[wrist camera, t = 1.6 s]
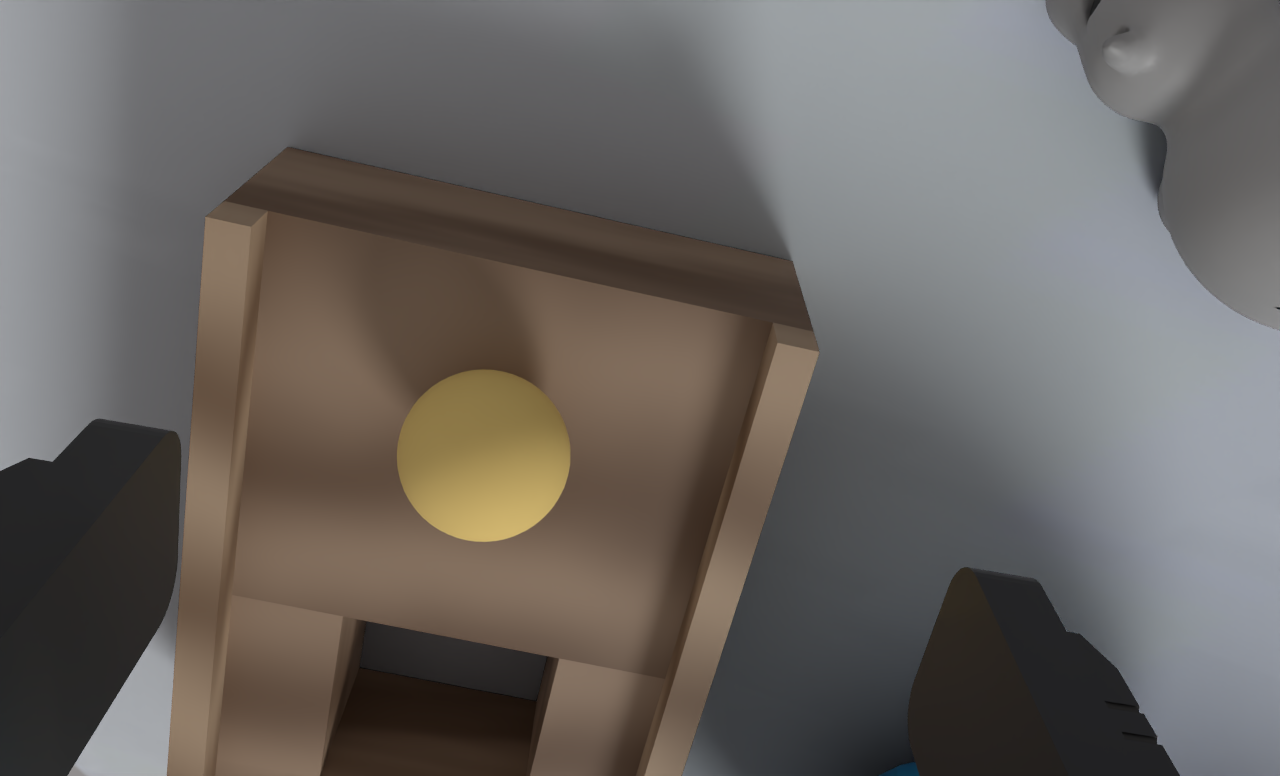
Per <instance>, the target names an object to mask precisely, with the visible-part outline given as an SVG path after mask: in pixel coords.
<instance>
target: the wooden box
mask: <svg viewBox="0 0 1280 776" xmlns="http://www.w3.org/2000/svg"><path fill="white" fill-rule="evenodd" d="M819 353H820V351H819V348H818V345H817V341H816V338H815V335H814V331H813V328H812V325H811V321H810V318H809V315H808V311H807V308H806V305H805V301H804V298H803V295H802V291H801V288H800V285H799V281H798V278H797V275H796V271H795V268H794V265H793V261H789V260H785V259H780V258H776V257H771V256H767V255H762V254H758V253H754V252H749V251H745V250H740V249H736V248H732V247H727V246H723V245H718V244H714V243H709V242H705V241H701V240H696V239H692V238H687V237H683V236H679V235H674V234H670V233H665V232H661V231H656V230H652V229H648V228H643V227H639V226H634V225H630V224H626V223H621V222H617V221H612V220H608V219H603V218H599V217H595V216H590V215H586V214H581V213H577V212H573V211H568V210H564V209H559V208H555V207H550V206H546V205H542V204H537V203H533V202H528V201H524V200H520V199H515V198H511V197H506V196H502V195H497V194H493V193H489V192H484V191H480V190H475V189H471V188H467V187H462V186H458V185H453V184H449V183H444V182H440V181H436V180H431V179H427V178H422V177H418V176H414V175H409V174H405V173H400V172H396V171H391V170H387V169H383V168H378V167H374V166H369V165H365V164H361V163H356V162H352V161H347V160H343V159H338V158H334V157H330V156H325V155H321V154H316V153H312V152H308V151H303V150H299V149H294V148H290V147H287V148H286V149H285V150H283V151H282V152H281V153H280V154H279V155H278V156H276V157H275V158H274V159H273V160H272V161H271V162H269V163H268V164H267V165H266V166H265V167H263V168H262V169H261V170H260V171H259V172H258V173H256V174H255V175H254V176H253V177H252V178H251V179H249V180H248V181H247V182H246V183H245V184H243V185H242V186H241V187H240V188H239V189H238V190H236V191H235V192H234V193H233V194H232V195H231V196H229V197H228V198H227V199H226V200H225V201H223V202H222V203H221V204H220V205H219V206H218V207H216V208H215V209H214V210H213V211H212V212H211V213H209V214H208V215H207V216H206V217H205V231H204V245H203V260H202V274H201V289H200V303H199V318H198V332H197V347H196V361H195V376H194V390H193V405H192V419H191V434H190V448H189V462H188V477H187V491H186V506H185V520H184V535H183V549H182V564H181V578H180V593H179V607H178V622H177V636H176V651H175V665H174V680H173V694H172V709H171V723H170V738H169V752H168V767H167V776H682V773H683V770H684V767H685V764H686V761H687V758H688V755H689V752H690V749H691V746H692V742H693V739H694V736H695V733H696V730H697V727H698V724H699V721H700V718H701V715H702V712H703V709H704V706H705V703H706V700H707V696H708V693H709V690H710V687H711V684H712V681H713V678H714V675H715V672H716V669H717V666H718V663H719V660H720V657H721V653H722V650H723V647H724V644H725V641H726V638H727V635H728V632H729V629H730V626H731V623H732V620H733V617H734V614H735V610H736V607H737V604H738V601H739V598H740V595H741V592H742V589H743V586H744V583H745V580H746V577H747V574H748V571H749V568H750V564H751V561H752V558H753V555H754V552H755V549H756V546H757V543H758V540H759V537H760V534H761V531H762V528H763V525H764V521H765V518H766V515H767V512H768V509H769V506H770V503H771V500H772V497H773V494H774V491H775V488H776V485H777V482H778V478H779V475H780V472H781V469H782V466H783V463H784V460H785V457H786V454H787V451H788V448H789V445H790V442H791V439H792V435H793V432H794V429H795V426H796V423H797V420H798V417H799V414H800V411H801V408H802V405H803V402H804V399H805V396H806V393H807V389H808V386H809V383H810V380H811V377H812V374H813V371H814V368H815V365H816V362H817V359H818V356H819ZM480 369H486V370H497V371H503V372H507V373H510V374H514V375H516V376H518V377H521V378H523V379H525V380H527V381H529V382H530V383H532V384H533V385H535V386H536V387H537V388H539V389H540V390H541V391H542V392H543V393H544V394H545V395H547V397H548V398H549V399H550V400H551V401H552V403H553V404H554V405H555V407H556V408H557V410H558V411H559V413H560V415H561V417H562V419H563V421H564V423H565V426H566V429H567V433H568V436H569V442H570V468H569V474H568V477H567V481H566V484H565V487H564V489H563V491H562V493H561V495H560V497H559V499H558V501H557V502H556V503H555V505H554V506H553V508H552V509H551V510H550V511H549V512H548V514H547V515H546V516H545V517H544V518H543V519H542V520H540V521H539V522H538V523H537V524H536V525H534V526H533V527H531V528H529V529H528V530H526V531H524V532H522V533H520V534H518V535H516V536H513V537H510V538H507V539H504V540H498V541H490V542H476V541H468V540H463V539H459V538H456V537H453V536H451V535H448V534H446V533H444V532H442V531H440V530H438V529H437V528H435V527H434V526H432V525H431V524H430V523H428V522H427V521H426V520H425V519H424V518H423V517H422V516H421V515H420V514H419V513H418V512H417V511H416V509H415V508H414V507H413V505H412V504H411V502H410V501H409V499H408V497H407V496H406V494H405V492H404V489H403V487H402V484H401V481H400V477H399V472H398V467H397V446H398V440H399V436H400V432H401V428H402V426H403V423H404V421H405V419H406V417H407V415H408V414H409V412H410V410H411V409H412V407H413V405H414V404H415V403H416V402H417V400H418V399H419V398H420V397H421V396H422V395H423V394H424V393H425V392H426V391H428V390H429V389H430V388H431V387H432V386H434V385H435V384H437V383H438V382H440V381H442V380H444V379H446V378H448V377H450V376H452V375H455V374H458V373H461V372H465V371H470V370H480ZM367 621H369V622H374V623H379V624H384V625H389V626H395V627H400V628H405V629H410V630H415V631H420V632H425V633H431V634H436V635H441V636H446V637H451V638H456V639H462V640H467V641H472V642H477V643H482V644H487V645H492V646H498V647H503V648H508V649H513V650H518V651H523V652H528V653H534V654H539V655H544V656H548V657H547V661H546V665H545V669H544V673H543V677H542V681H541V685H540V690H539V694H538V698H537V702H536V701H531V700H526V699H521V698H515V697H510V696H505V695H500V694H494V693H489V692H484V691H479V690H473V689H468V688H463V687H458V686H452V685H447V684H442V683H437V682H431V681H426V680H421V679H416V678H410V677H405V676H400V675H395V674H389V673H384V672H379V671H374V670H368V669H363V668H359V667H360V660H361V654H362V647H363V641H364V635H365V628H366V622H367Z"/></svg>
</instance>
